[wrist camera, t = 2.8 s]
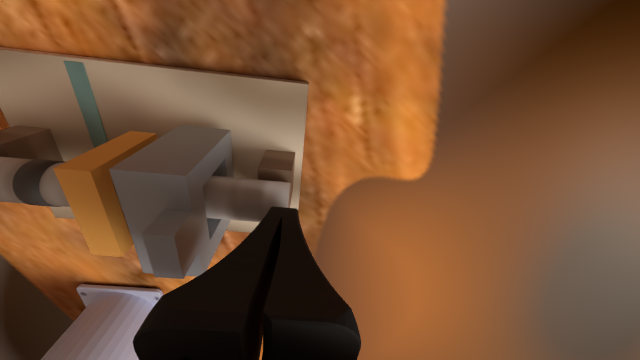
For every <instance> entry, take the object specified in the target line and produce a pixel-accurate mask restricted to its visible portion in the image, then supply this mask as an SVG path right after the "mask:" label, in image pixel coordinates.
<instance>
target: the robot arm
mask: <svg viewBox="0 0 640 360" xmlns="http://www.w3.org/2000/svg"><path fill="white" fill-rule="evenodd" d="M77 292H78V294H79V295H80V297H81V299H82V301H83V303H84V305H85V306H86V308H85V309H84V311H83V312H82V313H81V314H80V315H79V316H78V318H77V319H76V320H75V321H74V322H73V323H72V324H71V326H70V327H69V328H68V329H67V330H66V331H65V333H64V334H63V335H62V336H61V337H60V338H59V339H58V341H57V342H56V343H55V344H54V345H53V346H52V348H51V349H50V350H49V351H48V352H47V354H45V356H44V357H43V358H42V359H41V360H259V357H260V350H261V344H262V338H263V355H262V360H357V357H358V354H359V351H360V348H361V339H360V334H359V330H358V326H357V323H356V320H355V317H354V315H353V312H352V309H351V308H350V307H349V305H348V304H346V302H345V301H344V300H343V299H342V298H341V297H340V295H339V294H338V293H337V292H336V291H335V290H334V288H333V287H332V286H331V284H330V283H329V281H328V280H327V279H326V277H325V276H324V274H323V273H322V271H321V270H320V268H319V267H318V265H317V263H316V261H315V260H314V258H313V256H312V254H311V252H310V250H309V248H308V245H307V243H306V240H305V238H304V235H303V232H302V229H301V225H300V221H299V216H298V210H297V209H296V208H285V207H273V206H272V207H271V208H270V209H269V211H268V212H267V214H266V215H265V217H264V218H263V219H262V220H261V222H260V223H259V224H258V225H257V226H256V228H255V229H254V230H253V231H252V232H251V233H250V234H249V235H248V236H247V237H246V238H245V240H244V241H243V242H242V243H241V244H239V245H238V246H237V247H236V248H235V249H234V250H233V251H232V252H231V253H229V254H228V255H227V256H226V257H225V258H223V259H222V260H221V261H219V262H218V263H217V264H215V265H214V266H213V267H211V268H210V269H208V270H207V271H205V272H204V273H202V274H201V275H199V276H198V277H196V278H194V279H193V280H191V281H189V282H188V283H186V284H184V285H182V286H180V287H178V288H176V289H175V290H173V291H171V292H169V293H167V294H165V295H163V293H162V291H161V290H159V289H151V288H135V287H119V286H103V285H88V284H81V285H79V286H78V287H77Z"/></svg>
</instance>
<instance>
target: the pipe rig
mask: <svg viewBox="0 0 640 360" xmlns="http://www.w3.org/2000/svg"><path fill="white" fill-rule="evenodd" d="M308 85H309V82H304V81H295V80H286V79H277V78H269V77H260V76H251V75H242V74H234V73H225V72H216V71H207V70H198V69H190V68H181V67H172V66H163V65H155V64H146V63H137V62H128V61H119V60H111V59H102V58H93V57H84V56H76V55H67V54H58V53H49V52H40V51H32V50H23V49H14V48H5V47H0V108H1V110H2V112H3V114H4V116H5V118H6V120H7V122H8V124H9V126H10V128H6V129H3V130H0V201H1V202H13V203H26V204H29V205H39V206H50V208H51V210H52V212H53V214H54V216H55V217H57V218H70V219H76V218H75V216H74V214H73V212H72V209H71V207H70V205H69V203H68V201H67V198H66V196H65V194H64V192H63V190H62V187H61V185H60V183H59V181H58V179H57V176H56V174H55V172H54V170H53V168H54V167H56V166H59V165H61V164H63V163H65V162H67V161H69V160H71V159H73V158H75V157H77V156H79V155H81V154H83V153H86V152H88V151H90V150H92V149H94V148H96V147H98V146H100V145H102V144H104V143H106V142H108V141H110V140H112V139H115V138H117V137H119V136H121V135H123V134H125V133H127V132H129V131H137V132H147V133H157V138H158V139H159V138H160V137H162V136H163V135H165V134H167V133H168V132H170V131H172V130H173V129H175V128H176V127H178V126H180V125H186V126H196V127H206V128H216V129H226V130H231V142H232V158H233V173H234V178H233V177H222V176H211V177H210V178H209V179H208V181H207V182H206V183H205V184H204V186H203V194H204V201H205V209H206V216H207V218H213V219H226V220H230V222H229V225H228V227H227V229H226V231H238V232H252V231H253V230H254V229H255V228H256V226H257V225H258V224H259V223H260V222H261V220H262V219H263V218H264V217H265V215H266V214H267V212H268V211H269V209H270V208H271V207H272V206H273V207H285V208H296V209H297V210H298V208H299V196H300V183H301V171H302V159H303V147H304V134H305V122H306V110H307V97H308ZM112 182H113V180H112ZM113 185H114V183H113ZM114 188H115V186H114ZM115 191H116V189H115ZM116 194H117V192H116ZM117 197H118V195H117ZM118 200H119V198H118ZM119 203H120V201H119ZM120 206H121V204H120ZM121 209H122V207H121ZM122 211H123V210H122Z"/></svg>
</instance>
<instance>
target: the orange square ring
mask: <svg viewBox="0 0 640 360" xmlns="http://www.w3.org/2000/svg"><path fill="white" fill-rule="evenodd" d="M157 139H158V138H157V133H147V132H137V131H129V132H127V133H125V134H123V135H121V136H119V137H117V138H115V139H112V140H110V141H108V142H106V143H104V144H102V145H100V146H98V147H96V148H94V149H92V150H90V151H88V152H86V153H83V154H81V155H79V156H77V157H75V158H73V159H71V160H69V161H67V162H65V163H63V164H61V165H59V166H56V167H54V168H53V170H54V172H55V174H56V176H57V179H58V181H59V183H60V185H61V187H62V190H63V192H64V194H65V196H66V198H67V201H68V203H69V205H70V207H71V209H72V212H73V214H74V216H75V218H76V220H77V223H78V225H79V227H80V229H81V231H82V234H83V236H84V238H85V240H86V242H87V245H88V247H89V249H90V251H91V253H92V255H104V256H118V257H123V255H124V254H125V253H126V252H127V251H128V250H129V249H130V248H131V247H132V245H133V244H134V243H133V240H132V237H131V234H130V231H129V228H128V225H127V222H126V219H125V216H124V213H123V211H122V209H121V206H120V203H119V200H118V197H117V194H116V191H115V188H114V185H113V182H112V177H111V174H110V171H109V169H110V168H112V167H113V166H115V165H116V164H118V163H120V162H121V161H123V160H125V159H126V158H128V157H129V156H131V155H133V154H134V153H136V152H137V151H139V150H141V149H142V148H144V147H146V146H147V145H149V144H150V143H152V142H154V141H155V140H157Z"/></svg>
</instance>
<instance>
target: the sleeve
mask: <svg viewBox="0 0 640 360" xmlns="http://www.w3.org/2000/svg"><path fill="white" fill-rule="evenodd" d="M109 171H110V174H111V177H112V180H113V183H114V186H115V189H116V192H117V195H118V198H119V201H120V204H121V207H122V210H123V213H124V216H125V219H126V222H127V225H128V228H129V231H130V234H131V237H132V240H133V243H134V246H135V249H136V252H137V255H138V258H139V261H140V264H141V267H142V270H143V273H153V274H154V276H155V277H164V278H179V279H184V277H185V276H199V275H201V274H202V273H204V272H205V271H206V270H207V268H208V266H209V264H210V262H211V260H212V257H213V255H214V253H215V251H216V249H217V247H218V245H219V243H220V241H221V239H222V237H223V235H224V233H225V231H226V229H227V227H228V225H229V222H230V220H226V219H213V218H207V216H206V209H205V201H204V194H203V186H204V184H205V183H206V182H207V181H208V179H209V178H210V177H211V176H222V177H233V178H234V173H233V158H232V142H231V130H226V129H216V128H206V127H196V126H186V125H180V126H178V127H176V128H175V129H173V130H172V131H170V132H168V133H167V134H165V135H163V136H162V137H160V138H159V139H157V140H155V141H154V142H152V143H150V144H149V145H147V146H146V147H144V148H142V149H141V150H139V151H137V152H136V153H134V154H133V155H131V156H129V157H128V158H126V159H125V160H123V161H121V162H120V163H118V164H116V165H115V166H113V167H112V168H110V169H109Z"/></svg>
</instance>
